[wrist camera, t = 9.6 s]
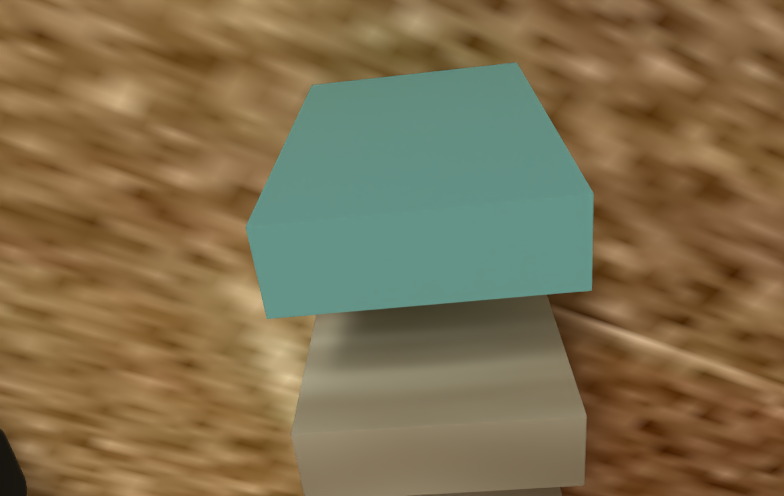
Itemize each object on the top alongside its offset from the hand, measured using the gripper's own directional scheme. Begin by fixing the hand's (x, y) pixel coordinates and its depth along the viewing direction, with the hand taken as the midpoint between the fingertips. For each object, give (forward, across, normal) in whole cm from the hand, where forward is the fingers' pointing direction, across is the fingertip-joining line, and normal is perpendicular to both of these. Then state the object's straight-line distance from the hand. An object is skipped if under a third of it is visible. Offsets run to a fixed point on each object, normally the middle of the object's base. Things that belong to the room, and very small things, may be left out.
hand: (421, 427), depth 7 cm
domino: (+12, 0, +4) cm, 12 cm away
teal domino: (+12, 0, 0) cm, 12 cm away
